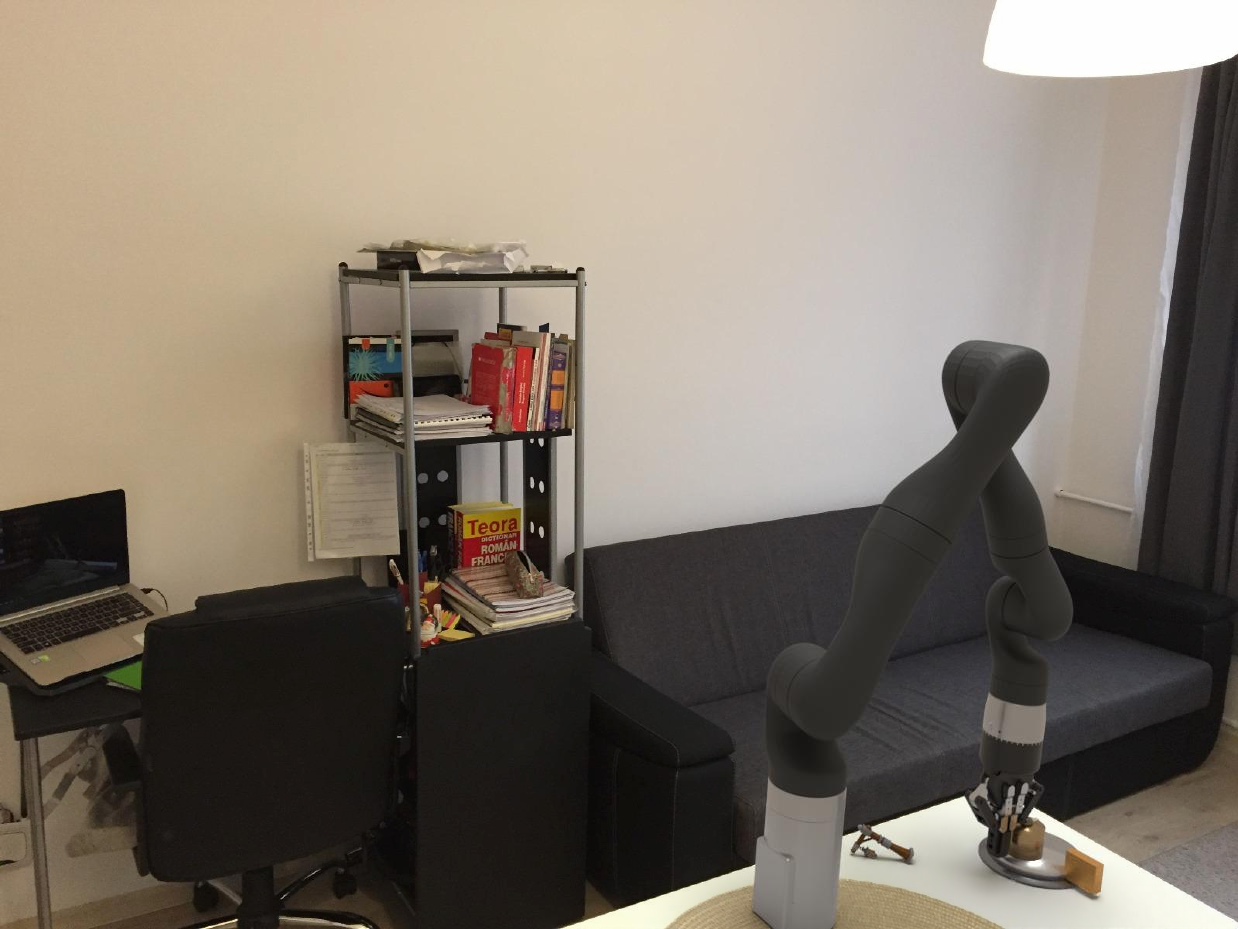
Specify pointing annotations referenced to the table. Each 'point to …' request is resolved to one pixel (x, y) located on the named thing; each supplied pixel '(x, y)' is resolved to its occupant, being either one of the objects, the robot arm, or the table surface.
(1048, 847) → the silver disc with handle
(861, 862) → the table surface
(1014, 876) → the base plate
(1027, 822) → the cover
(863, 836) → the toy blunderbuss
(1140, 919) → the table surface
